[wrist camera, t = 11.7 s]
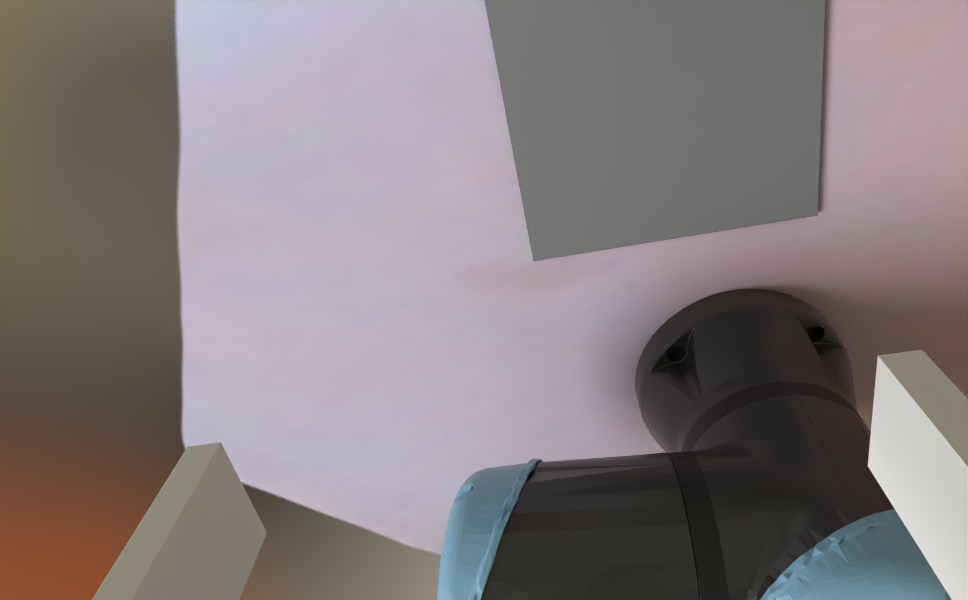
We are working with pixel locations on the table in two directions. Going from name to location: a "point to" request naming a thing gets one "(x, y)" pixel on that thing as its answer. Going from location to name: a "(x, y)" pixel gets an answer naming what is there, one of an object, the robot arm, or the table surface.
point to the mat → (659, 116)
